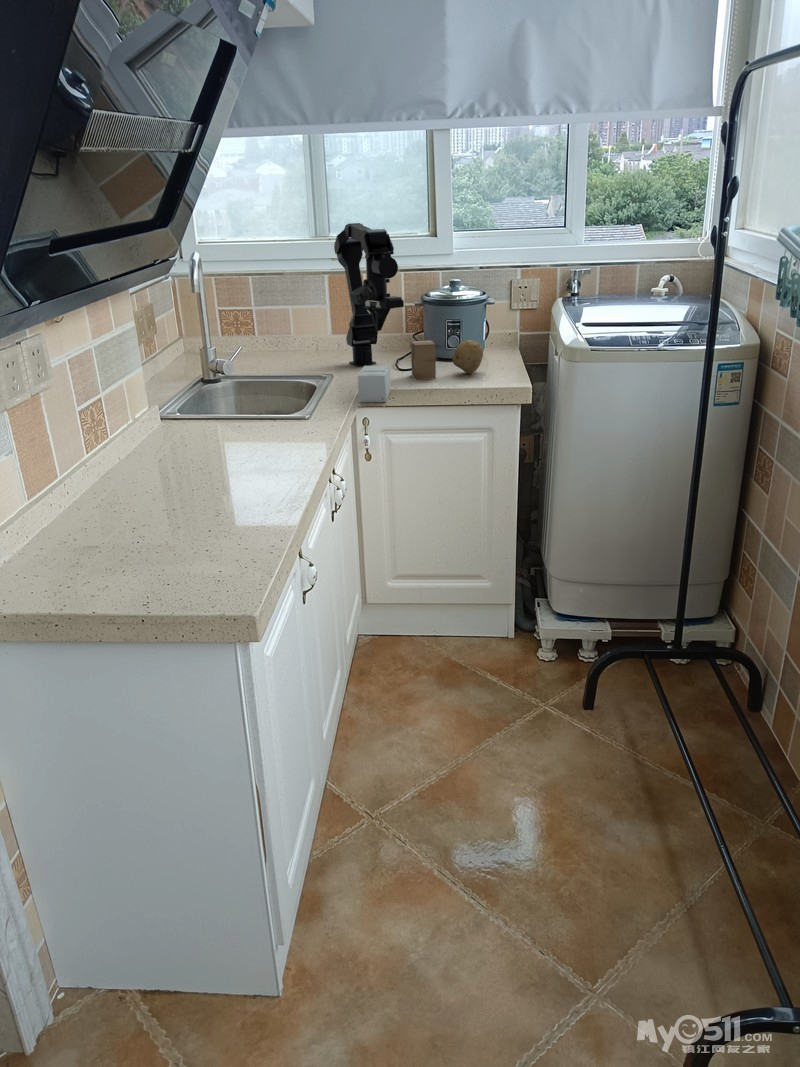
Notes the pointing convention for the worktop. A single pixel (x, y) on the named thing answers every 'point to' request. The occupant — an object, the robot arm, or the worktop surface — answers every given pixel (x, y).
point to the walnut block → (423, 359)
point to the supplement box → (374, 384)
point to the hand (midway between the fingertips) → (378, 330)
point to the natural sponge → (468, 356)
